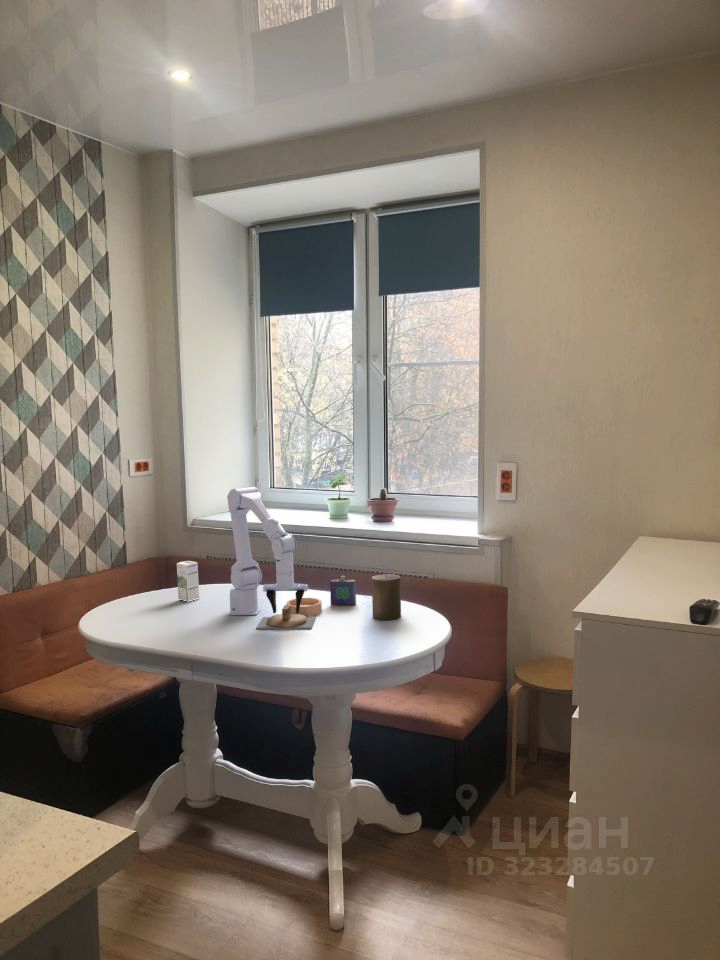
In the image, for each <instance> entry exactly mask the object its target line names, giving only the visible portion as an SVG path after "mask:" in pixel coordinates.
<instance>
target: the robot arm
mask: <svg viewBox="0 0 720 960" xmlns="http://www.w3.org/2000/svg"><path fill="white" fill-rule="evenodd" d="M227 505H228V511H229V514H230V519H231V527H232V528H231V529H232V534H233V540H234V548H235V555H236V561H235V563H234V564H233V565H232V566H231V567H230V572H231V573H230V582H231V585H232V587H231V588H230V591H229V612H230V613H229V615H230V616H257V615H258V614H259V612H260V611H261V609H262V607H259V602H258V599H259V598H258V596H259V595H258V587H260V584H261V582H262V580H263V574H262V570H261V568H260V566H259V562H257V561H256V560H254V559H253V555H252V548H251V541H250V533H249V532H250V531H249V526H248V519H247V514H248V513H249V511H251V512H252V513H253V514H254V515H255V516H256V517H257V519H258V520H259V521H260V522H261V524H262V531H263V532H264V534H265V535H266V536H267V538H268V539H269V540H270V542H271V550H272V553H273V558H274V560H275V570H276V571H275V572H276V575H275V576H276V577H275V580H276V583H271V584H270V583H267V584H263V586H262V592H264V593H265V592H266V593H265V596H266V598H267V599H268V602H269V603H270V605H271V609H272V613H273V614H276V613H277V600H276V599H277V592H295V599H296V613H299V608H300V603H301V600H302V598H304V594H305V593H306V592H308V590H309V585H308V584H306V583H295V573H294V568H295V567H294V551H296V550H297V549H296V548H297V545H298V543H297V540H296V538H295V536H294V535H293V534H292V533H289V532H286V531H285V528H283V526H282V525H281V524H280V522H279V520H278V519H277V518H272V516H271V515H270V513H269V512H268V510H267V508H266V507H265V505H264V503H263V502H262V493H261V492H260V490H259V489H258V488H257V487H256V486H251V487H250V486H249V487H242V488H241V487H240V488H232V489H230V491H229V492H228V494H227Z"/></svg>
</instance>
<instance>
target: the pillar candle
mask: <svg viewBox="0 0 720 960" xmlns="http://www.w3.org/2000/svg"><path fill="white" fill-rule="evenodd" d="M371 591H372V592H371V593H372V594H371V595H372V597H371V598H372V599H371V600H372V602H371V603H372V617H373V619H376V620H380V621H391V620H390V619H394V620H397V619H396V618H398V617H400V616H401V617H402V600H401V599H402V597H401V594H402V593H401V592H402V591H401V576H400V575H398V574H390V573H385V574H384V573H383V574H376V575H374V576H373V575H372V576H371ZM401 617H400V618H401Z"/></svg>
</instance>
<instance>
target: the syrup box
mask: <svg viewBox="0 0 720 960" xmlns="http://www.w3.org/2000/svg"><path fill="white" fill-rule="evenodd" d="M198 567H199V565H198V562H197V561H191V560H184V561H183V560H182V561H180V562H176V574H177V575H176V576H177V593H178V594H177V595H178V600H179V599H182V600H186V601H189V600H193V599H197V598H199V599H200V588H199V587H200V586H199V570H198V569H199V568H198Z"/></svg>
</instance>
